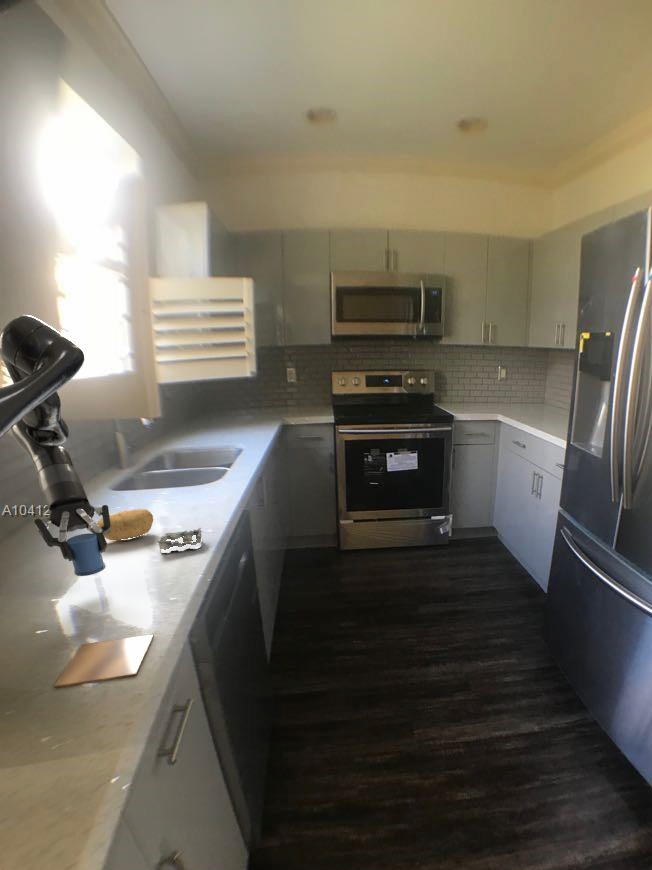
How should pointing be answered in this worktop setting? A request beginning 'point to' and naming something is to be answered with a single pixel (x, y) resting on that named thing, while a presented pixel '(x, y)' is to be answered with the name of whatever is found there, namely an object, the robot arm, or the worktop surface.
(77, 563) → the cap
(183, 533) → the egg carton
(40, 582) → the worktop surface
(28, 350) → the robot arm
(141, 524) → the potato
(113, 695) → the worktop surface
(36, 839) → the worktop surface
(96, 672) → the mat
